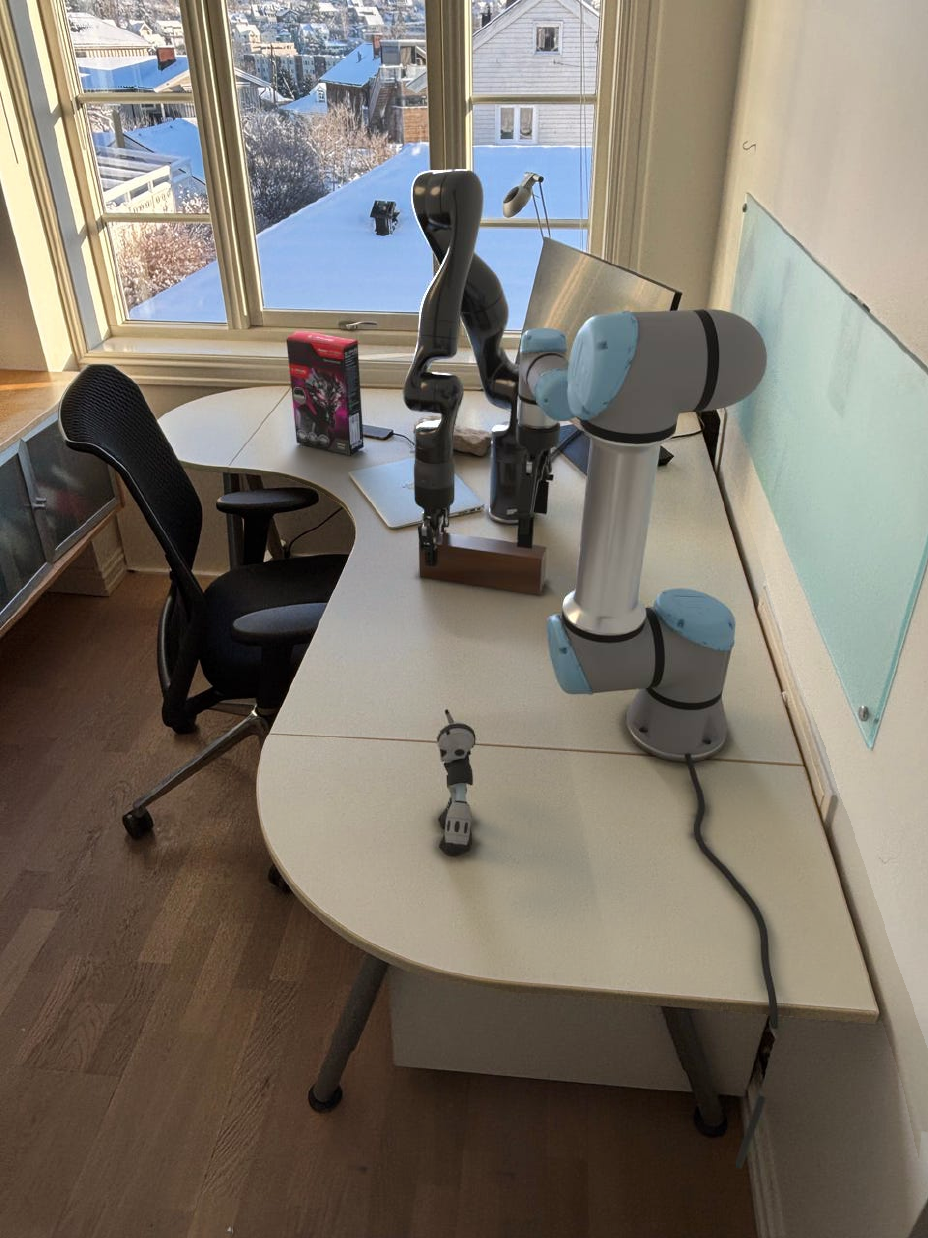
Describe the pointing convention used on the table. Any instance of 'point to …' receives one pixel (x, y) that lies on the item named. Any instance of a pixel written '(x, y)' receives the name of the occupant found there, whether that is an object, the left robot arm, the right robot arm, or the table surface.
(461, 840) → the robot
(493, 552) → the walnut beam
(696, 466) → the table surface
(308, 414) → the graphics card box
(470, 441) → the stone
